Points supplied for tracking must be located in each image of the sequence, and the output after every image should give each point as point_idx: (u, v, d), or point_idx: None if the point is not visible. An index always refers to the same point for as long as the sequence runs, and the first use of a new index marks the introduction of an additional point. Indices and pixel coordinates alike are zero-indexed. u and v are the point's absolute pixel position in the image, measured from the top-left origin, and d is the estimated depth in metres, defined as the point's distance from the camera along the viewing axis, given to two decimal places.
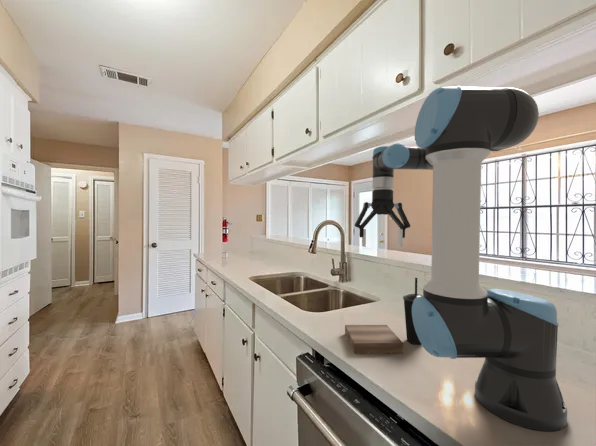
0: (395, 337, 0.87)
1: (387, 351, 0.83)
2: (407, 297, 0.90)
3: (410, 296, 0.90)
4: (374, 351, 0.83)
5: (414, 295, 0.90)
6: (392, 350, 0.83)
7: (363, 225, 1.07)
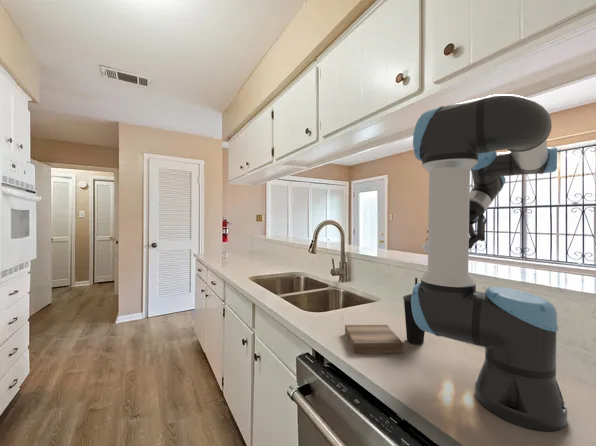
0: (395, 337, 0.87)
1: (387, 351, 0.83)
2: (407, 297, 0.90)
3: (410, 296, 0.90)
4: (374, 351, 0.83)
5: None
6: (392, 350, 0.83)
7: None
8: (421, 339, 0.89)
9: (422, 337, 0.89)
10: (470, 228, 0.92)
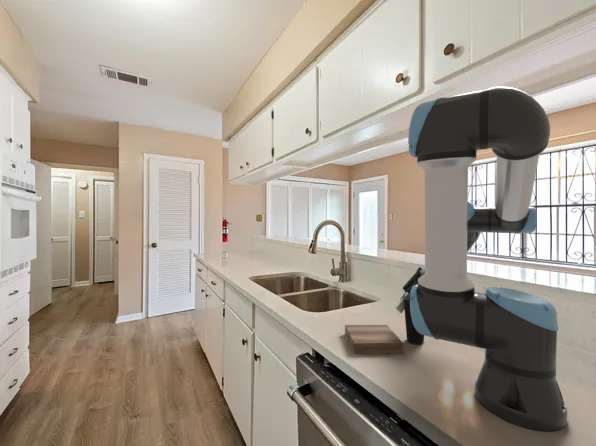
0: (395, 337, 0.87)
1: (387, 351, 0.83)
2: (407, 297, 0.90)
3: None
4: (374, 351, 0.83)
5: None
6: (392, 350, 0.83)
7: (408, 288, 0.95)
8: (421, 339, 0.89)
9: (422, 337, 0.89)
10: None
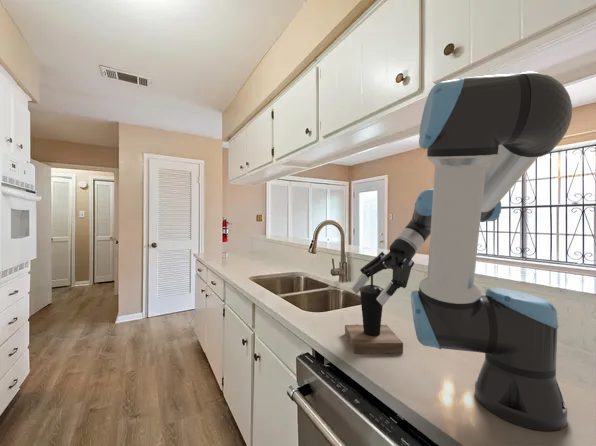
0: (395, 337, 0.87)
1: (387, 351, 0.83)
2: (363, 288, 0.89)
3: (365, 287, 0.88)
4: (374, 351, 0.83)
5: (370, 286, 0.88)
6: (392, 350, 0.83)
7: (365, 270, 0.97)
8: (377, 330, 0.87)
9: (378, 328, 0.87)
10: (395, 272, 0.86)
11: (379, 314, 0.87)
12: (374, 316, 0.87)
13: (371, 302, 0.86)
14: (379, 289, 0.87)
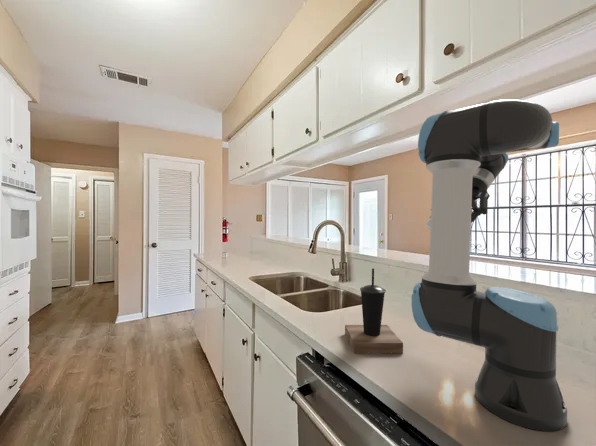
0: (395, 337, 0.87)
1: (387, 351, 0.83)
2: (363, 288, 0.89)
3: (366, 287, 0.88)
4: (374, 351, 0.83)
5: (370, 286, 0.88)
6: (392, 350, 0.83)
7: None
8: (377, 331, 0.87)
9: (378, 329, 0.87)
10: (473, 203, 0.94)
11: (379, 314, 0.87)
12: (375, 316, 0.87)
13: (372, 302, 0.86)
14: (380, 289, 0.87)
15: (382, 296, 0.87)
